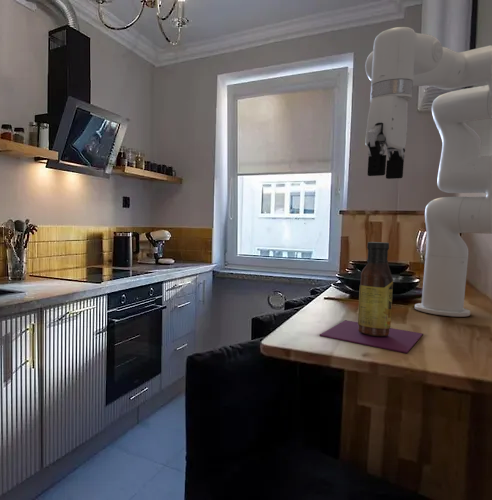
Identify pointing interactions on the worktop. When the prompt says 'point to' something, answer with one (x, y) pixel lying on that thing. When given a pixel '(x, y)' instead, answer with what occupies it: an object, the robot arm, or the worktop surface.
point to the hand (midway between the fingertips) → (385, 177)
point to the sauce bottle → (375, 292)
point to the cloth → (374, 337)
